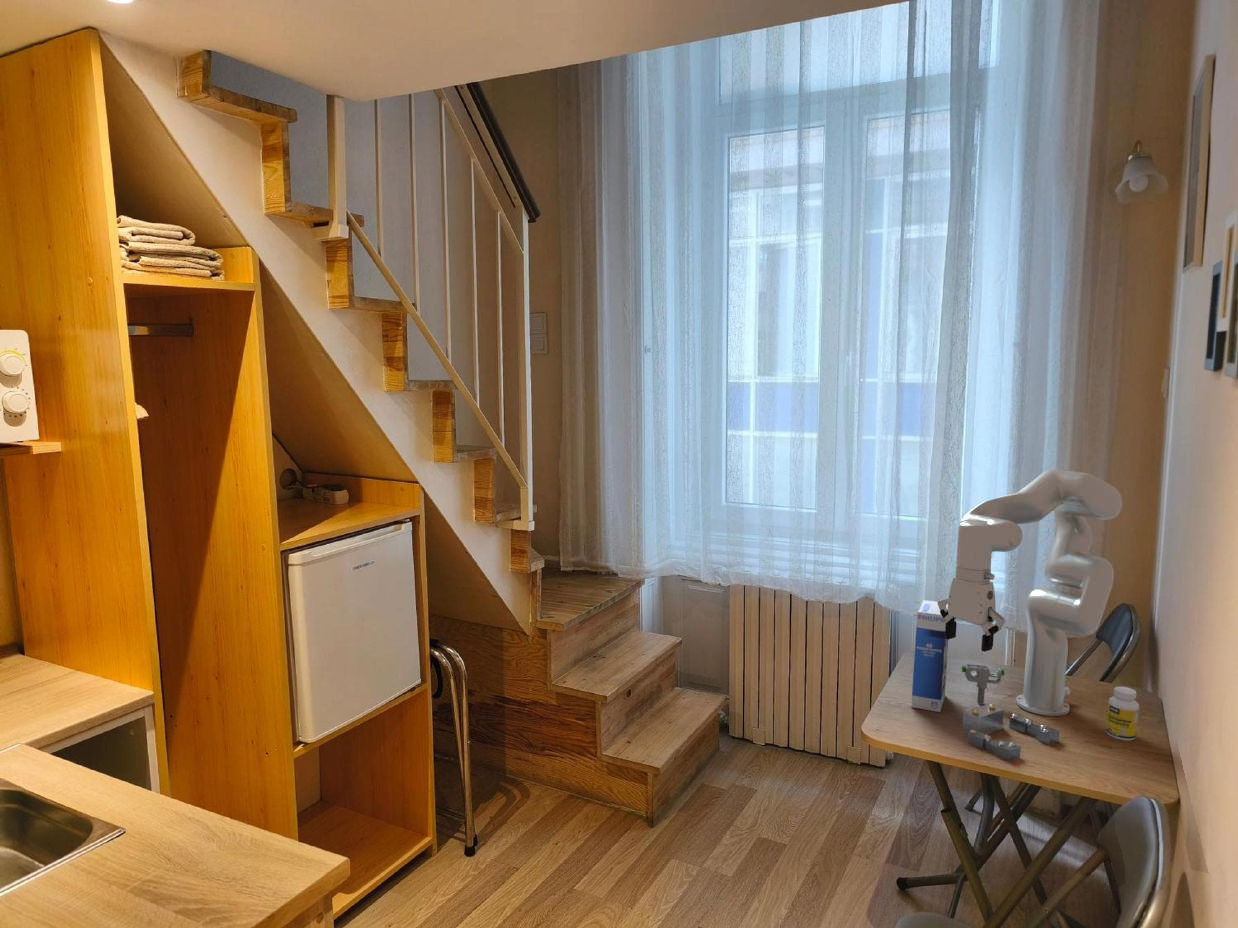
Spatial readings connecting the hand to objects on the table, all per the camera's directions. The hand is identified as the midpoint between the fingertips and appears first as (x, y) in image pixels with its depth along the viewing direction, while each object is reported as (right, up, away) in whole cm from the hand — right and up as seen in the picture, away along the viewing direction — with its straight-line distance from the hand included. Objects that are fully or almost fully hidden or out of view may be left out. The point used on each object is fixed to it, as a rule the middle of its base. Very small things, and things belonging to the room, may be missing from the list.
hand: (968, 644), depth 205 cm
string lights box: (-1, -20, +24) cm, 32 cm away
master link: (+7, -23, +8) cm, 25 cm away
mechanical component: (+13, -21, +24) cm, 34 cm away
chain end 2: (+18, -23, +5) cm, 30 cm away
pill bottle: (+39, -24, +5) cm, 46 cm away
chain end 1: (+4, -24, -3) cm, 25 cm away
